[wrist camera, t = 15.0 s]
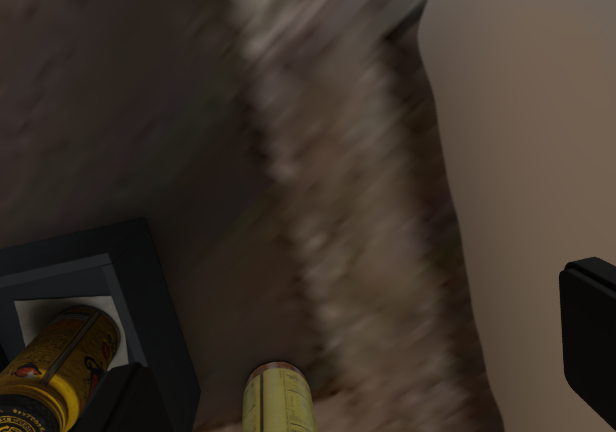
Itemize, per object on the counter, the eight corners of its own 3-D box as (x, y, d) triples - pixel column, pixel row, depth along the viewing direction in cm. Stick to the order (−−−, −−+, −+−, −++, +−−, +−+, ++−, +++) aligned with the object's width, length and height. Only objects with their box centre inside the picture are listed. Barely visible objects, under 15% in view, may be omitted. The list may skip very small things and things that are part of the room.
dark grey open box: (-41, 258, 37) (-134, 306, 28) (144, 217, 37) (107, 252, 29) (37, 429, 41) (-22, 515, 33) (201, 391, 42) (183, 466, 33)
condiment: (130, 368, 40) (73, 480, 28) (31, 374, 39) (-69, 491, 27) (120, 294, 38) (53, 381, 26) (16, 299, 37) (-99, 390, 26)
